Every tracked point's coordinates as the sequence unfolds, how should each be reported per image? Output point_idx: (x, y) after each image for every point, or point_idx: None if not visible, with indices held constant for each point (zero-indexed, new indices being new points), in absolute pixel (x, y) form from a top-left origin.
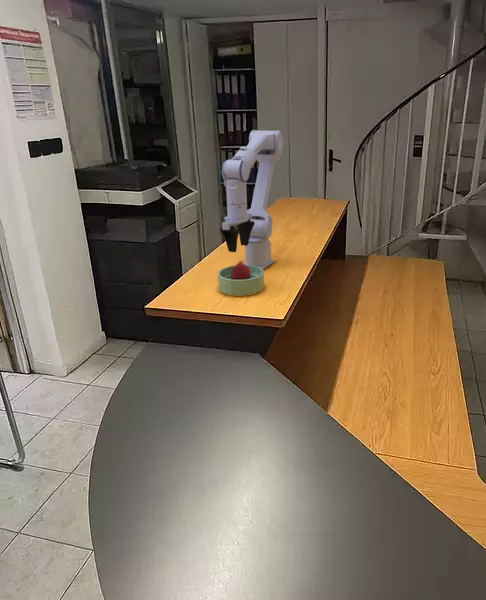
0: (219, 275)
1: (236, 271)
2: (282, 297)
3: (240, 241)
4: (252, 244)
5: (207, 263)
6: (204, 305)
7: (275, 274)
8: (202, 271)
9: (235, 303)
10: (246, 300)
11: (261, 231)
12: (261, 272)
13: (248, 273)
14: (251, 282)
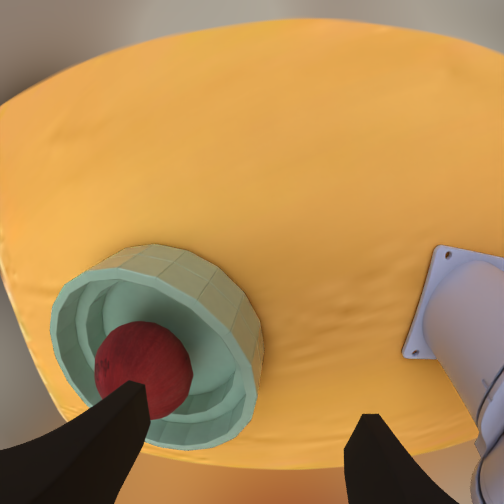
0: (63, 293)
1: (94, 377)
2: None
3: (371, 434)
4: (478, 391)
5: (448, 54)
6: (20, 255)
7: (359, 406)
8: (334, 58)
9: None
10: None
11: (487, 494)
12: (196, 439)
13: None
14: None
